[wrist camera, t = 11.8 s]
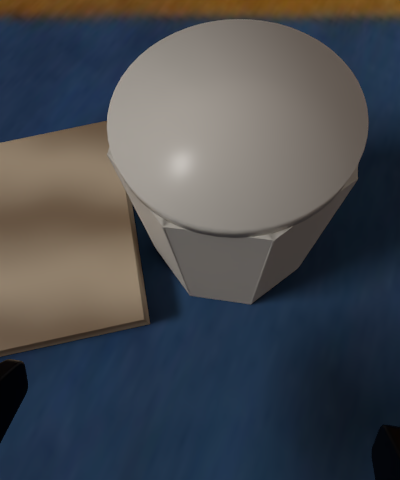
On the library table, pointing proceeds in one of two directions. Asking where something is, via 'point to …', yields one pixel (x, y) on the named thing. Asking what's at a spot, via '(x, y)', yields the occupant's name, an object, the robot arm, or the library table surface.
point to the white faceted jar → (236, 150)
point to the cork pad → (65, 242)
